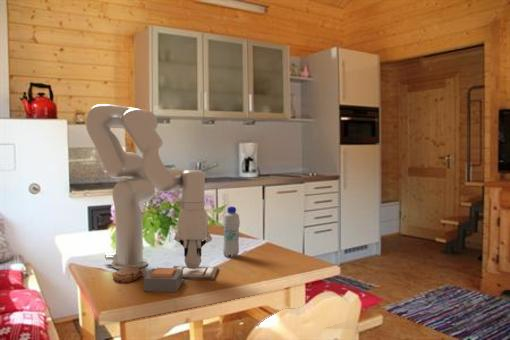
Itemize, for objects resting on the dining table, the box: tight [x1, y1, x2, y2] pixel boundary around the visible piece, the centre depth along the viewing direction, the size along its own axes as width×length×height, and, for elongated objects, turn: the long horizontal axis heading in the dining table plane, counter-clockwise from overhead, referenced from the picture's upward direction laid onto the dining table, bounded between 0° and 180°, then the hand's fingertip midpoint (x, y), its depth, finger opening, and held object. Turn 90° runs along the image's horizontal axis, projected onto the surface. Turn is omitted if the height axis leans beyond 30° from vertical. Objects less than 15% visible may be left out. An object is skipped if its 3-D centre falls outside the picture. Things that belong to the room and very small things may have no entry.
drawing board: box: [172, 265, 219, 281], centre depth 151 cm, size 16×12×1 cm
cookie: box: [112, 267, 144, 284], centre depth 146 cm, size 10×11×3 cm
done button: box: [152, 267, 176, 277], centre depth 138 cm, size 6×6×3 cm
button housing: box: [143, 268, 184, 293], centre depth 138 cm, size 10×10×4 cm
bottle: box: [222, 206, 241, 258], centre depth 174 cm, size 7×7×20 cm
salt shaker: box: [184, 240, 202, 269], centre depth 150 cm, size 6×6×13 cm
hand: (192, 258), depth 151 cm, fingers closed on salt shaker, 3 cm apart
